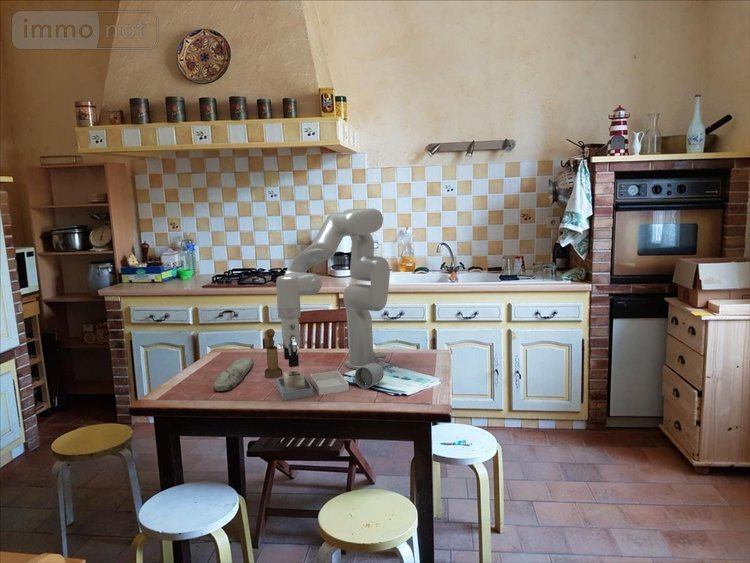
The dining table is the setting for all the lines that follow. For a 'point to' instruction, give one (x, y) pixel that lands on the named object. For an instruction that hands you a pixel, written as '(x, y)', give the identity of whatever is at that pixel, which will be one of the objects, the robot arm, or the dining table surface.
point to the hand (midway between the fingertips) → (291, 362)
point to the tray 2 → (329, 382)
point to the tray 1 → (297, 393)
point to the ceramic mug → (368, 375)
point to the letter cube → (294, 380)
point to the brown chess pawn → (272, 358)
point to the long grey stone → (233, 374)
